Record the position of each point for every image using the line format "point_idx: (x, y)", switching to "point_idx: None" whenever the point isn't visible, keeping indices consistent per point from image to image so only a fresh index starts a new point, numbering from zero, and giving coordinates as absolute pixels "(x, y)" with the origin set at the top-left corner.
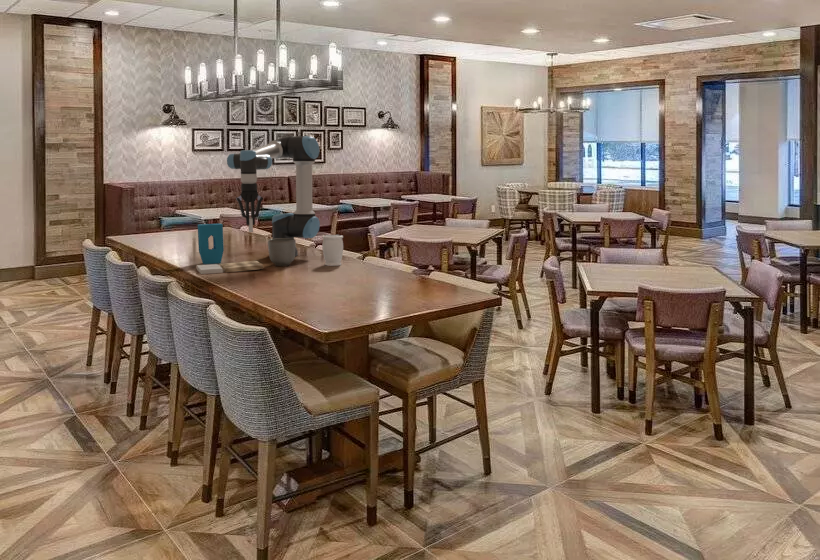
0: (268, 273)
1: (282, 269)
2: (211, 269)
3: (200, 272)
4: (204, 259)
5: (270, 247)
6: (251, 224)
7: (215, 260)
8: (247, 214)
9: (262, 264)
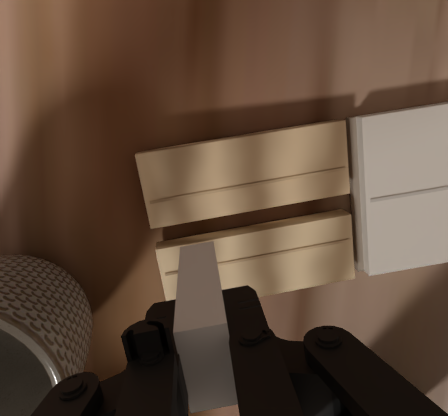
0: (109, 30)
1: (31, 158)
2: (419, 108)
3: None
4: None
5: (63, 322)
6: (193, 281)
7: None
8: (272, 372)
9: (137, 167)
